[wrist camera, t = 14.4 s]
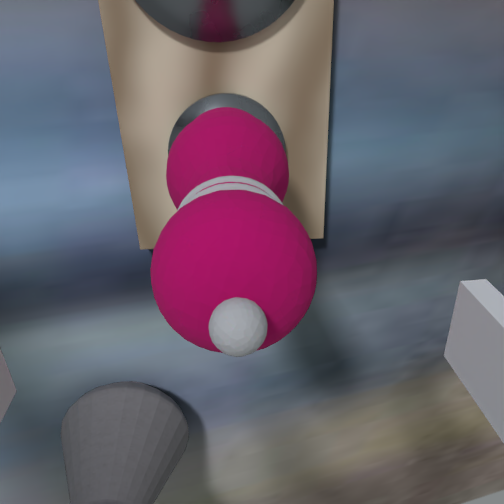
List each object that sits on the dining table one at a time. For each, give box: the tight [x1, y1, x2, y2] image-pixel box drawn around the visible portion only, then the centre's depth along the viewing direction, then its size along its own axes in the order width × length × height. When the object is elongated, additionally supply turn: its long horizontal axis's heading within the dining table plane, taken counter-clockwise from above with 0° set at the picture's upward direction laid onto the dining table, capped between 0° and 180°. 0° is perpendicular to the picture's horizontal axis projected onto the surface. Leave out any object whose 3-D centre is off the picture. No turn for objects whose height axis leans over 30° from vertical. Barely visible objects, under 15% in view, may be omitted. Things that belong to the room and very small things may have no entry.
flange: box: [168, 93, 286, 155], centre depth 31 cm, size 8×8×1 cm
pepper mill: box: [151, 107, 317, 357], centre depth 22 cm, size 7×7×20 cm
